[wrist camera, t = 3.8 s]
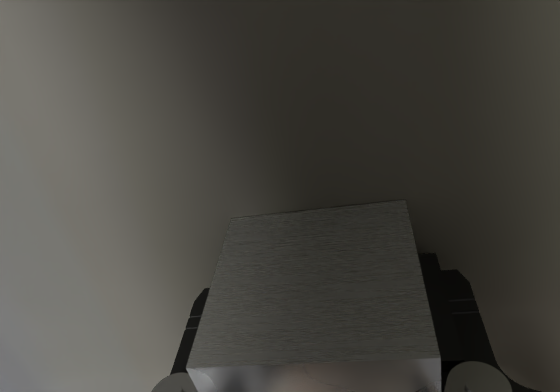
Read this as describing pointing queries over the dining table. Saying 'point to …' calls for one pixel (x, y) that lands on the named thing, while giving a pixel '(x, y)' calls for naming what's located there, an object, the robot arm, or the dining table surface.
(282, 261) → the block
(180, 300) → the dining table surface
